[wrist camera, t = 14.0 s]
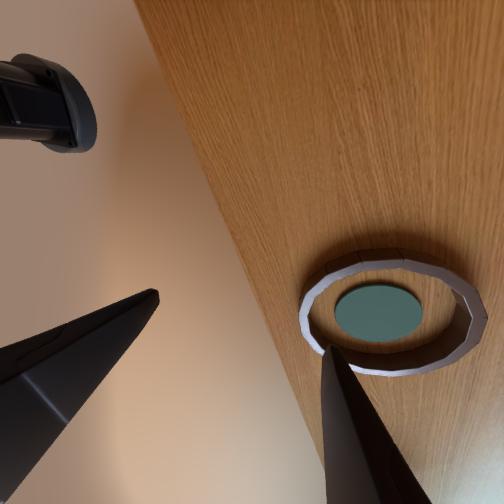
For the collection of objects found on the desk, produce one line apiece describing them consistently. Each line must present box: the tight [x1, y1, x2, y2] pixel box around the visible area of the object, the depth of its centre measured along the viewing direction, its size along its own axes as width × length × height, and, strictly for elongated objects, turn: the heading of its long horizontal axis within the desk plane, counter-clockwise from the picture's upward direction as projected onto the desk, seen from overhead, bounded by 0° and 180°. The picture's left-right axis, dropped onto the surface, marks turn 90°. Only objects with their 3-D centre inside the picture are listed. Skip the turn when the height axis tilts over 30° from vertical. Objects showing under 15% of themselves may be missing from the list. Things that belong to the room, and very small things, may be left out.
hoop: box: [298, 248, 488, 377], centre depth 20 cm, size 15×15×2 cm
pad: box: [335, 283, 423, 342], centre depth 20 cm, size 8×8×1 cm
